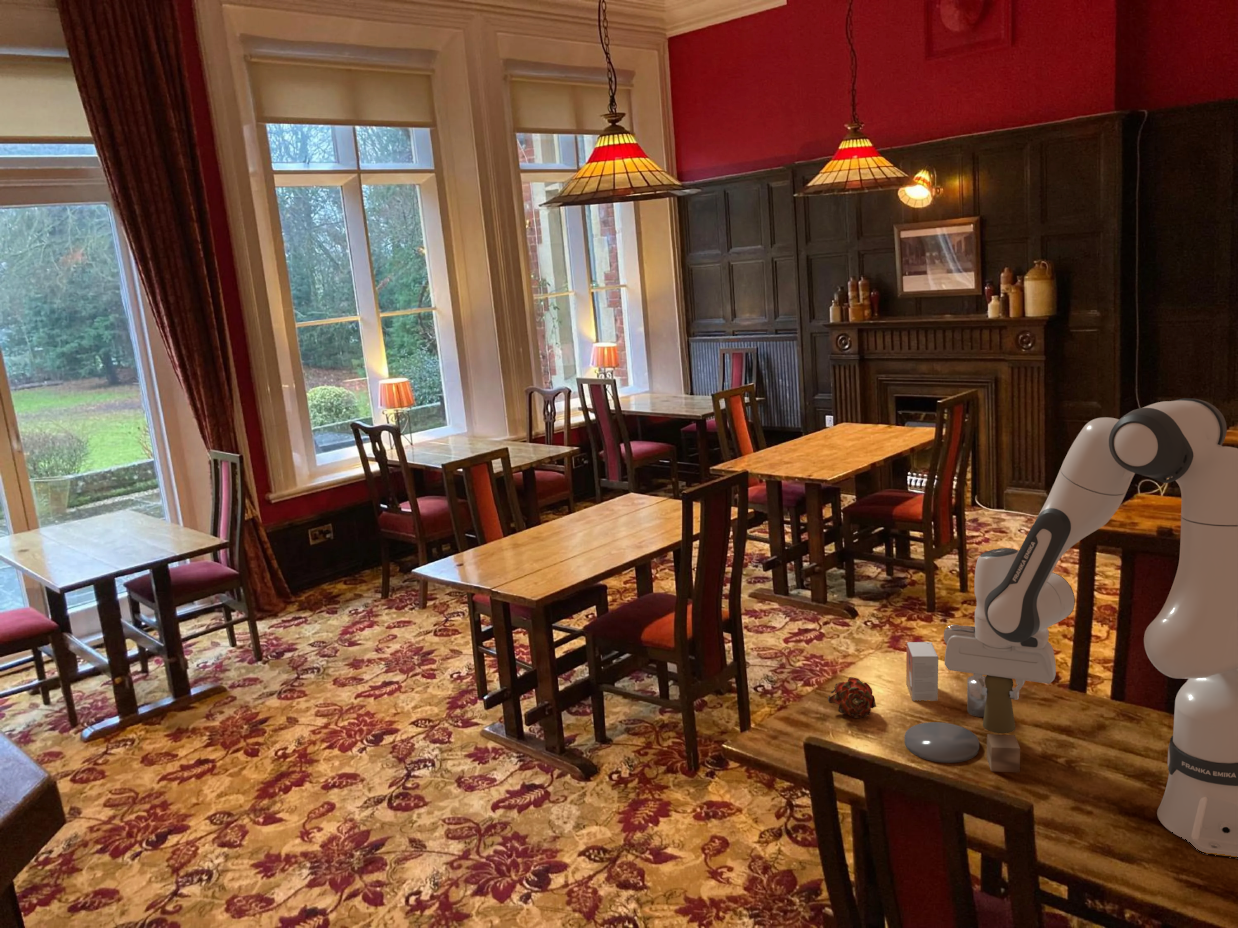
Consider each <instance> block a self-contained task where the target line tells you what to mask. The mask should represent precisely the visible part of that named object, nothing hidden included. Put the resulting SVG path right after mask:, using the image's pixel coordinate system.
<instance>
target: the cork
mask: <svg viewBox="0 0 1238 928" xmlns="http://www.w3.org/2000/svg"><path fill="white" fill-rule="evenodd" d="M985 685H986V688H987V689H988V693H987V699H986V706H985V712H984V717H983V719H982V720H983V721H982V727H983V728H984V729H985V730H986V731H988V732H990V733H993V734H1010V733H1013V732H1014V731H1016V723H1015V717H1014V710H1013V709H1014V707H1013V702H1012V699H1010V691H1011V690H1012V688H1014V679H1011V678H1004V677H996V676H989V675H985Z"/></svg>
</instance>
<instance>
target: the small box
mask: <svg viewBox="0 0 1238 928" xmlns="http://www.w3.org/2000/svg"><path fill="white" fill-rule="evenodd" d="M905 654H906V661H905V663H906V667H905V668H906V673H905V674H906V677H905V678H906V680H905V683H906V687H907V689H908V693H909V695H910V700H911V701H913V702H914V701H915V700H917V702H918V700H919V701H920V702H921V700H924V702H925V701H927V700H930V701H929V702H931V701H932V702H933V701H934V702H935V701H936V702H937V701H939V697H938V696H939V656H938V654H937V652H936V649H935V647H934V644H933V642H932V641H931V642H929V641H917V642H915V641H908V642H906V653H905ZM915 702H916V701H915Z"/></svg>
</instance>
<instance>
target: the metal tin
mask: <svg viewBox="0 0 1238 928" xmlns="http://www.w3.org/2000/svg"><path fill="white" fill-rule="evenodd" d="M985 677H986V675H982V677H981V678H982V680H983V682H984V683H985ZM966 681H967V685H966V686H967V688H966V689H967V691H966V693H967V694H966V695H967V698H966V699H967V700H966V702H967V704H966V705H967V706H966V709H967V710H966V711H967V713H968V714H969V715H971V716H974V717H979V718H984V712H985V706H986V699H987V695H981V694H980V693H979V686H978V685H977V683H976V681H975V680H974V678H973V675H971V676H969V677H967V679H966Z"/></svg>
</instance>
